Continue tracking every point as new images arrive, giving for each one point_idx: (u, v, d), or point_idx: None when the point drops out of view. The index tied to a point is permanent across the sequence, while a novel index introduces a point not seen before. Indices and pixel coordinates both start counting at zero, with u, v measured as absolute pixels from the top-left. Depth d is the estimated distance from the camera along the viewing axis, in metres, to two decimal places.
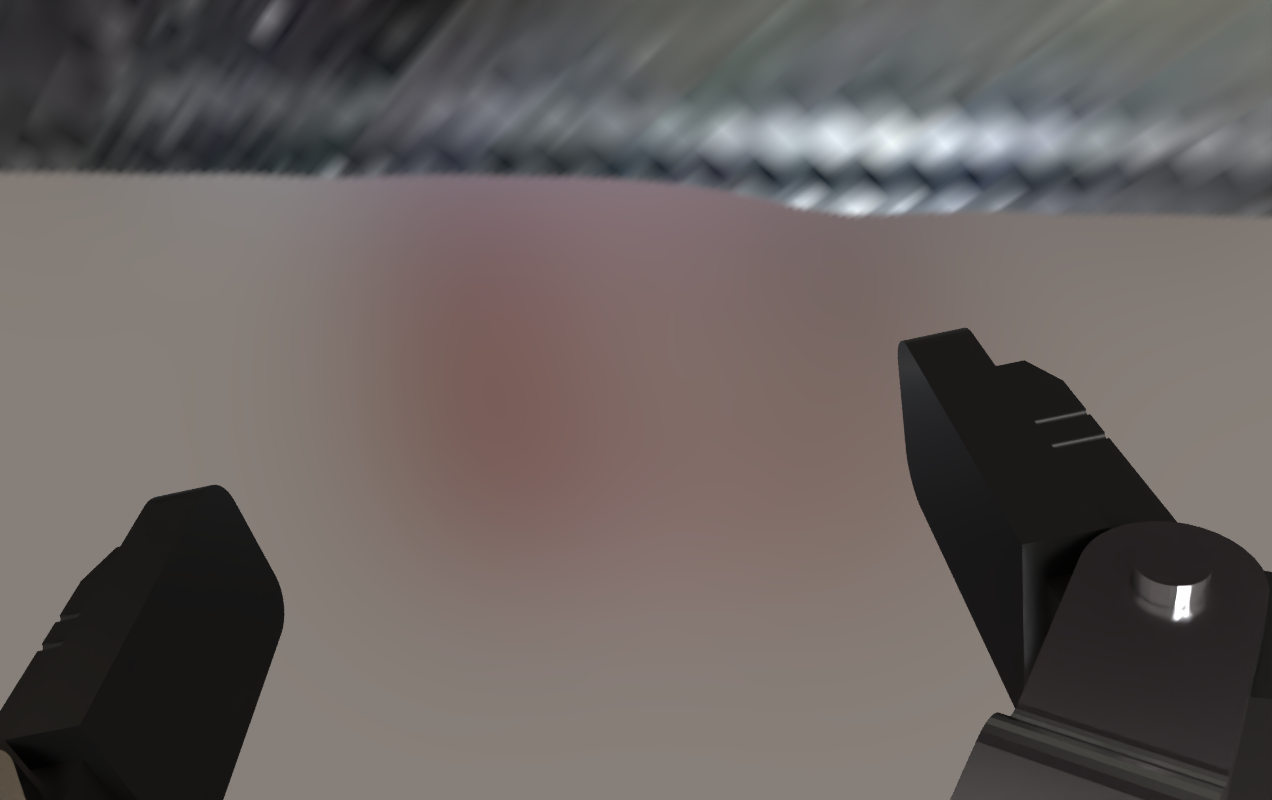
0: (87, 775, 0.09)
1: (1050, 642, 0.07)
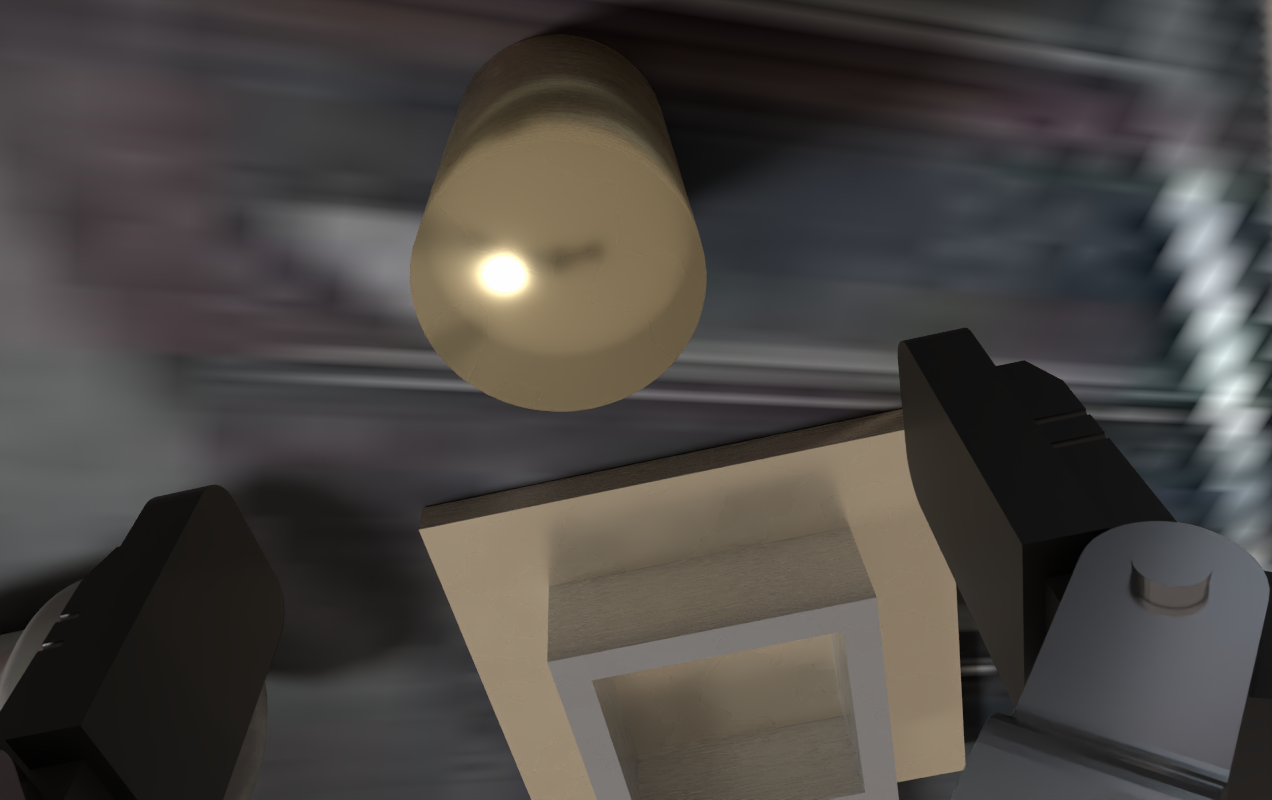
0: (86, 775, 0.09)
1: (1050, 642, 0.07)
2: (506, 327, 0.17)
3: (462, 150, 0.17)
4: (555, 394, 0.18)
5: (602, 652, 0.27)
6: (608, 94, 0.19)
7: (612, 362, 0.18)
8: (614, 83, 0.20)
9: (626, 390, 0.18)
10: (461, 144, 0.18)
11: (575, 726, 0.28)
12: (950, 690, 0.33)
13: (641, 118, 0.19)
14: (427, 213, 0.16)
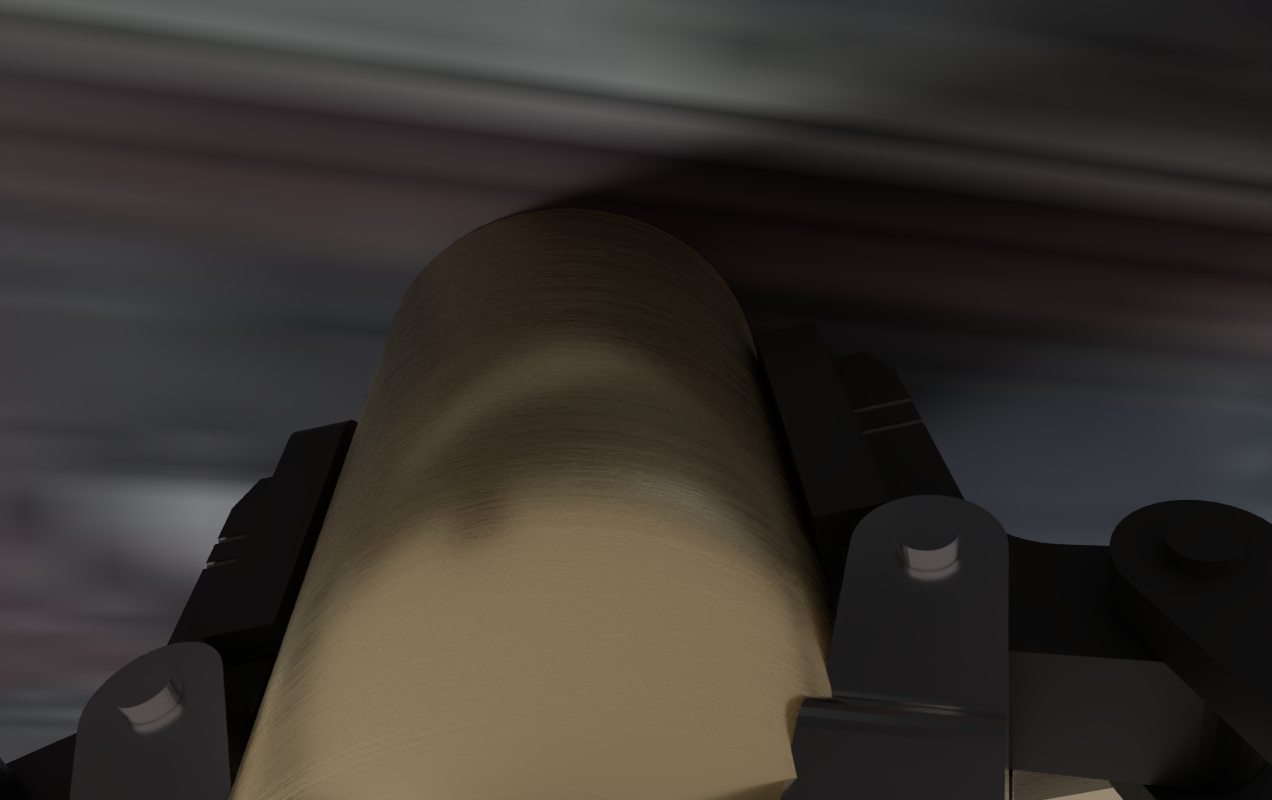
0: None
1: (840, 623, 0.07)
2: None
3: (326, 633, 0.07)
4: None
5: None
6: (672, 414, 0.09)
7: None
8: (679, 356, 0.10)
9: None
10: (334, 586, 0.07)
11: None
12: None
13: (745, 468, 0.09)
14: None
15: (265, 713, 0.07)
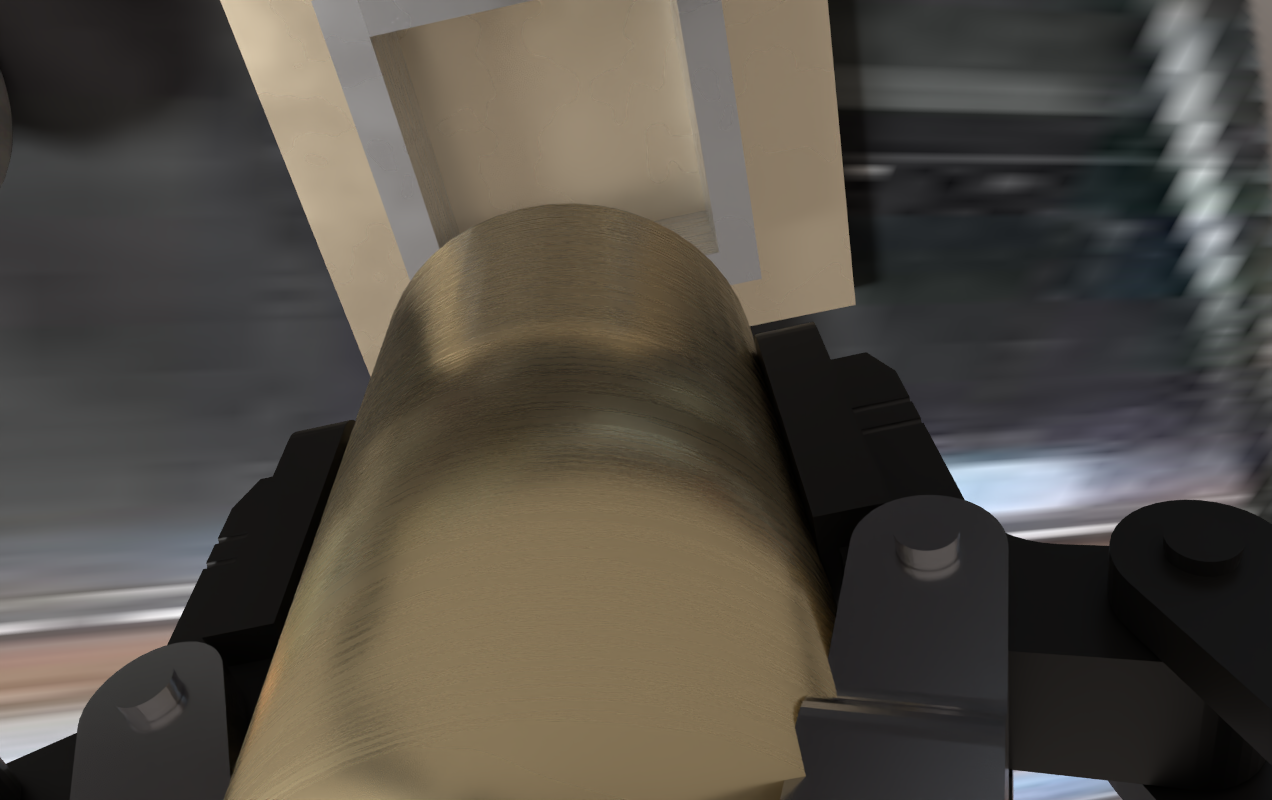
0: None
1: (840, 623, 0.07)
2: None
3: (324, 627, 0.07)
4: None
5: None
6: (672, 408, 0.09)
7: None
8: (679, 351, 0.10)
9: None
10: (332, 580, 0.07)
11: (358, 116, 0.24)
12: (831, 176, 0.28)
13: (744, 463, 0.09)
14: None
15: (262, 708, 0.07)
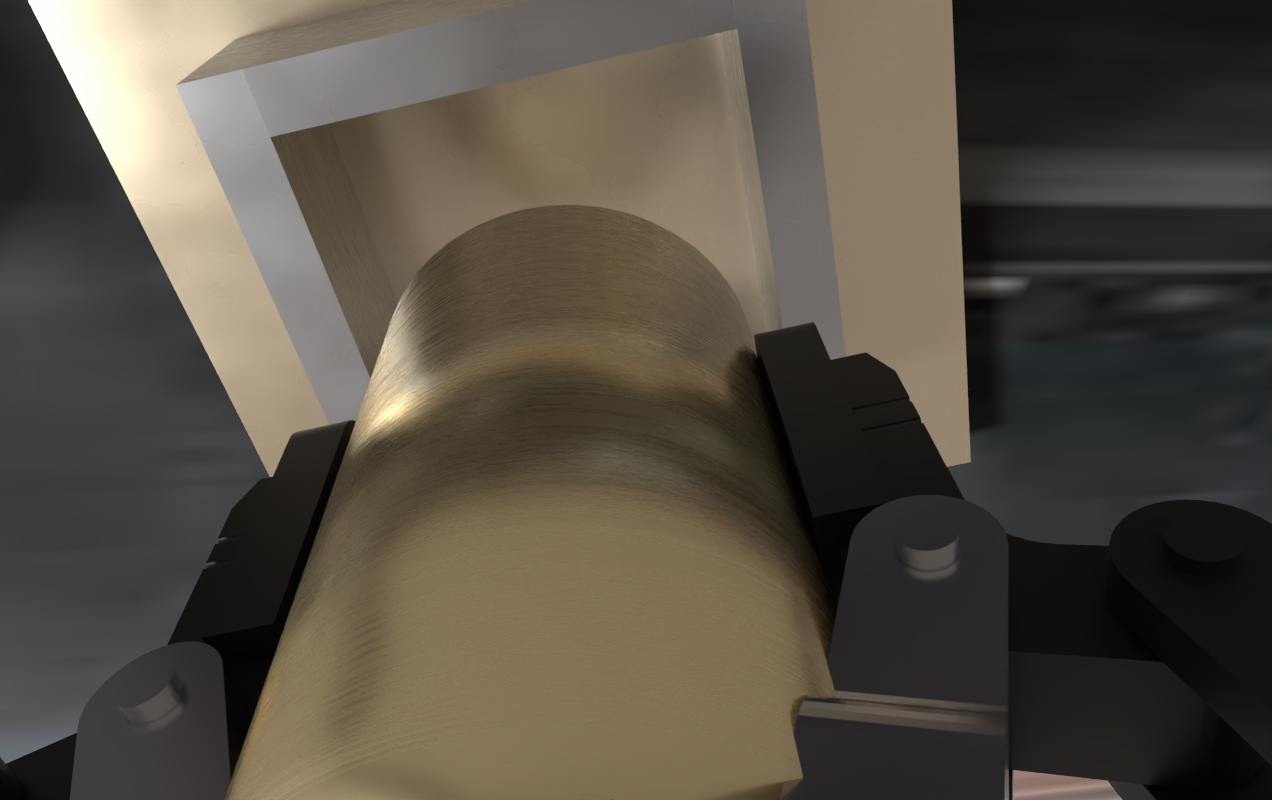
0: None
1: (839, 622, 0.07)
2: None
3: (324, 630, 0.07)
4: None
5: (278, 62, 0.14)
6: (672, 411, 0.09)
7: None
8: (679, 353, 0.10)
9: None
10: (332, 583, 0.07)
11: (260, 252, 0.16)
12: (946, 299, 0.20)
13: (744, 465, 0.09)
14: None
15: (262, 710, 0.07)
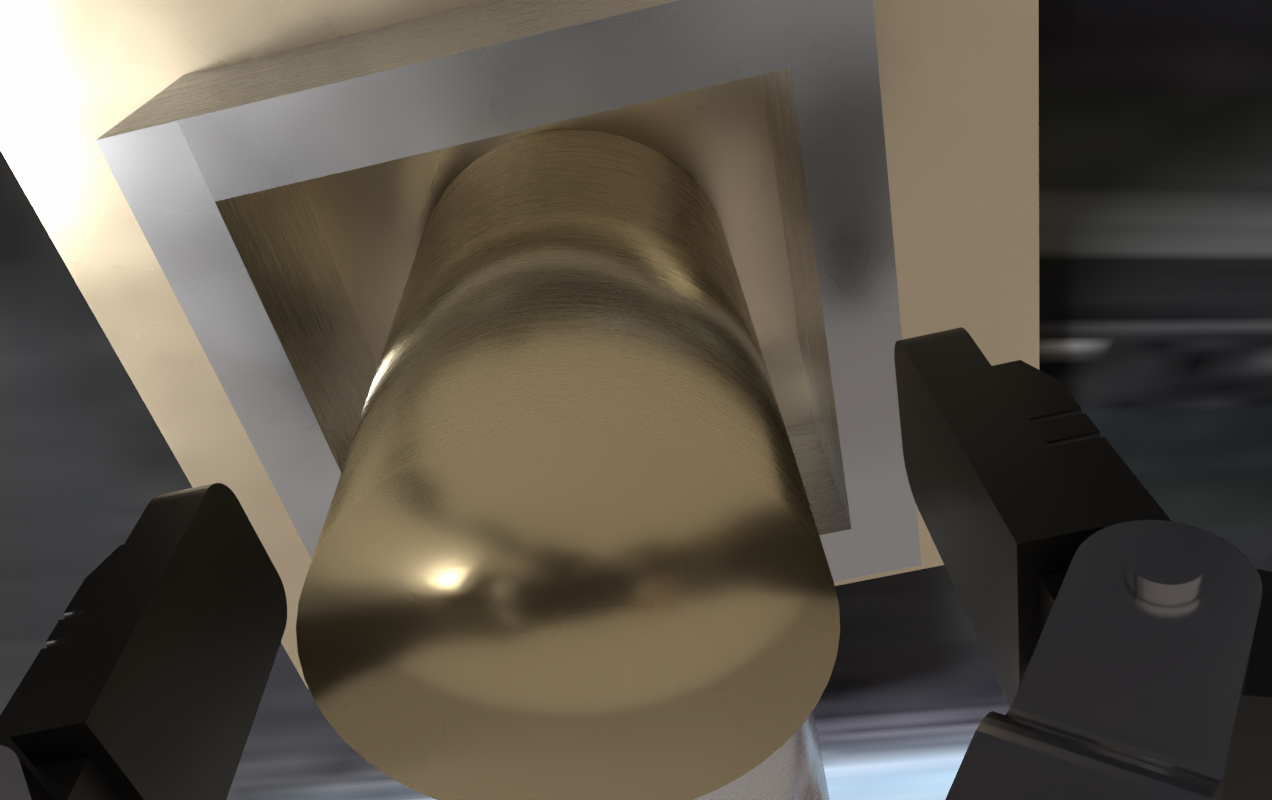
0: (92, 772, 0.09)
1: (1045, 641, 0.07)
2: (476, 713, 0.10)
3: (397, 401, 0.09)
4: None
5: (222, 111, 0.11)
6: (656, 266, 0.11)
7: (663, 757, 0.10)
8: (663, 232, 0.12)
9: (686, 794, 0.10)
10: (399, 377, 0.10)
11: (207, 336, 0.13)
12: None
13: (712, 308, 0.11)
14: (321, 550, 0.08)
15: (351, 461, 0.09)
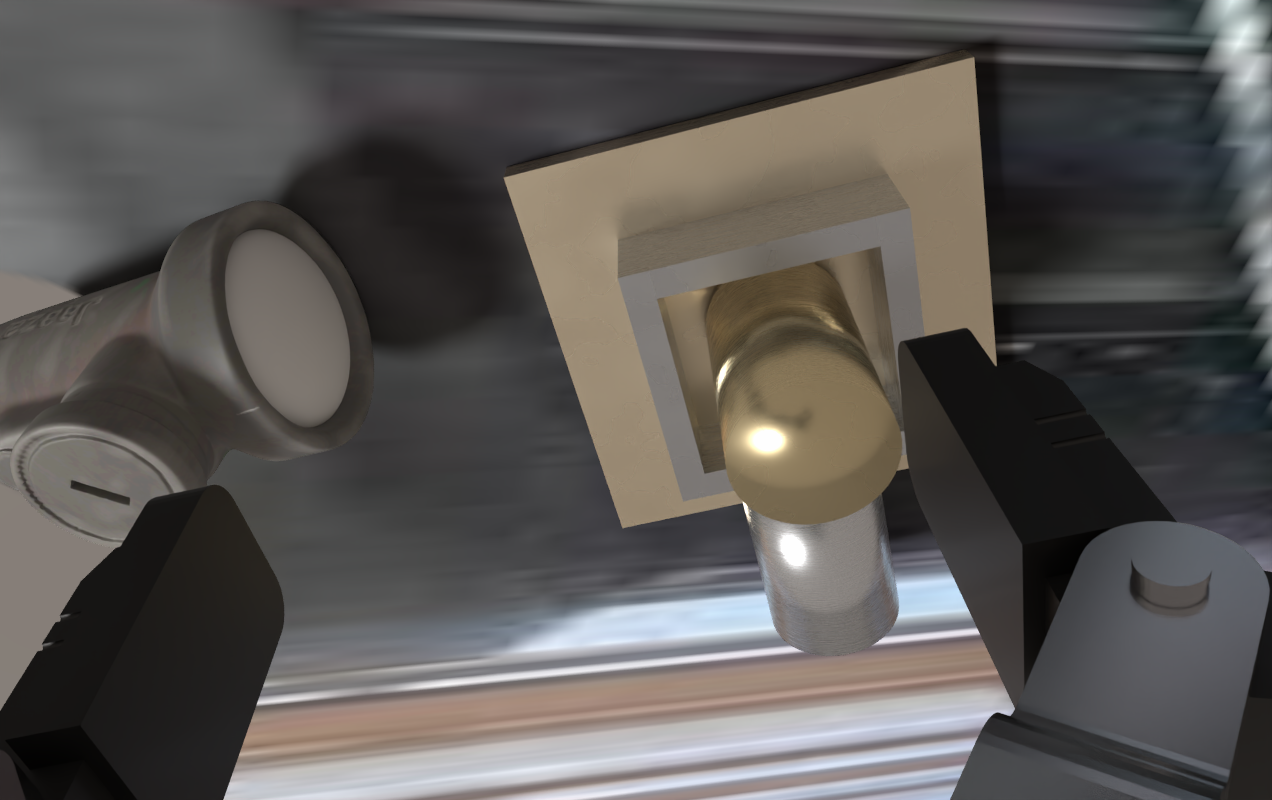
0: (87, 775, 0.09)
1: (1050, 642, 0.07)
2: (778, 478, 0.29)
3: (754, 373, 0.29)
4: (803, 514, 0.30)
5: (666, 267, 0.31)
6: (832, 324, 0.30)
7: (840, 497, 0.29)
8: (831, 308, 0.31)
9: (846, 512, 0.29)
10: (749, 365, 0.29)
11: (643, 350, 0.32)
12: None
13: (853, 339, 0.30)
14: (741, 418, 0.28)
15: (738, 393, 0.29)
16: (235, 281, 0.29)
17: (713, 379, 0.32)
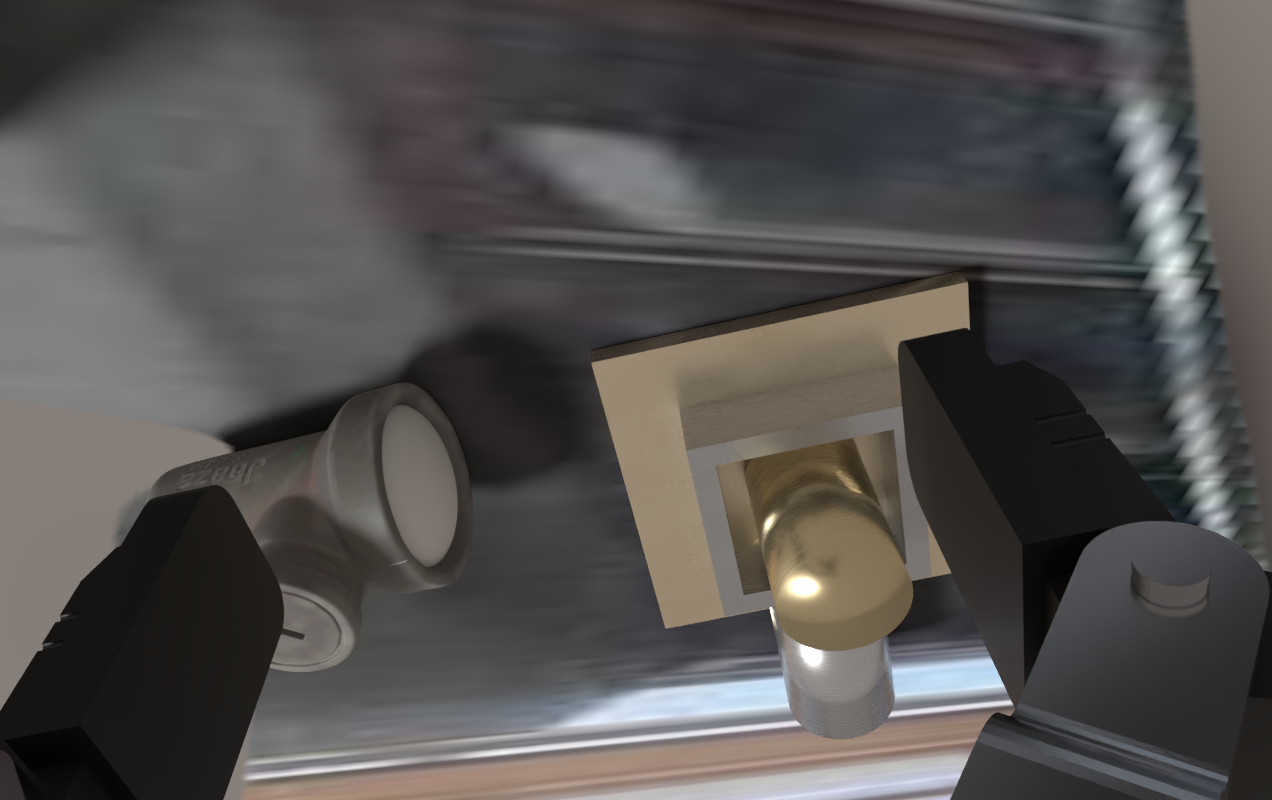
0: (87, 775, 0.09)
1: (1050, 642, 0.07)
2: (816, 618, 0.37)
3: (799, 536, 0.36)
4: (833, 644, 0.38)
5: (725, 443, 0.39)
6: (857, 492, 0.38)
7: (862, 631, 0.37)
8: (854, 475, 0.39)
9: (867, 642, 0.38)
10: (794, 528, 0.37)
11: (701, 503, 0.40)
12: None
13: (873, 504, 0.38)
14: (792, 575, 0.36)
15: (787, 551, 0.37)
16: (387, 458, 0.36)
17: (758, 527, 0.40)
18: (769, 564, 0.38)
